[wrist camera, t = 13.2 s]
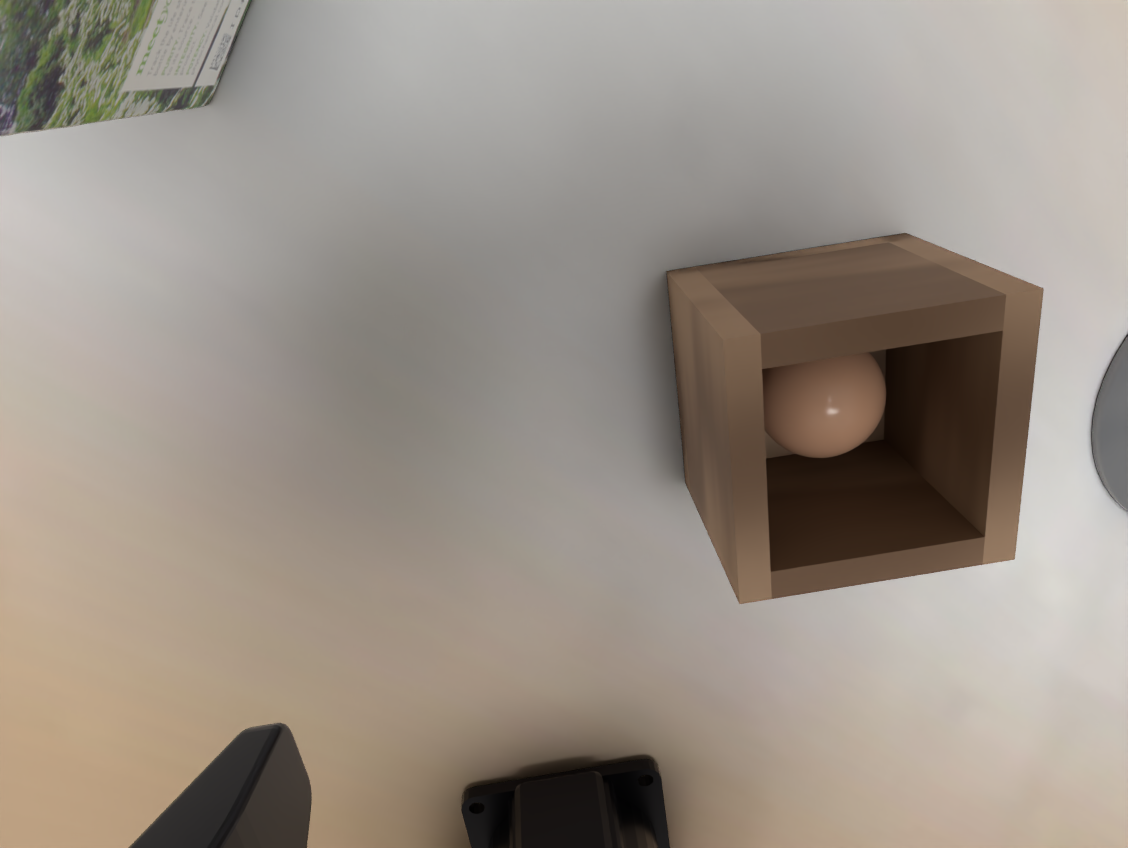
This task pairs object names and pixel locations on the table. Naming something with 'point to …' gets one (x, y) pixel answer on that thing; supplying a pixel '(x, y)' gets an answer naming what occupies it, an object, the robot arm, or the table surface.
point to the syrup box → (110, 58)
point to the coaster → (1113, 428)
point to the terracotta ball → (823, 404)
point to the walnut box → (904, 434)
